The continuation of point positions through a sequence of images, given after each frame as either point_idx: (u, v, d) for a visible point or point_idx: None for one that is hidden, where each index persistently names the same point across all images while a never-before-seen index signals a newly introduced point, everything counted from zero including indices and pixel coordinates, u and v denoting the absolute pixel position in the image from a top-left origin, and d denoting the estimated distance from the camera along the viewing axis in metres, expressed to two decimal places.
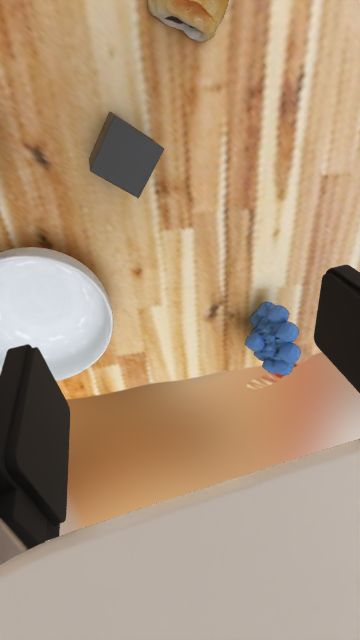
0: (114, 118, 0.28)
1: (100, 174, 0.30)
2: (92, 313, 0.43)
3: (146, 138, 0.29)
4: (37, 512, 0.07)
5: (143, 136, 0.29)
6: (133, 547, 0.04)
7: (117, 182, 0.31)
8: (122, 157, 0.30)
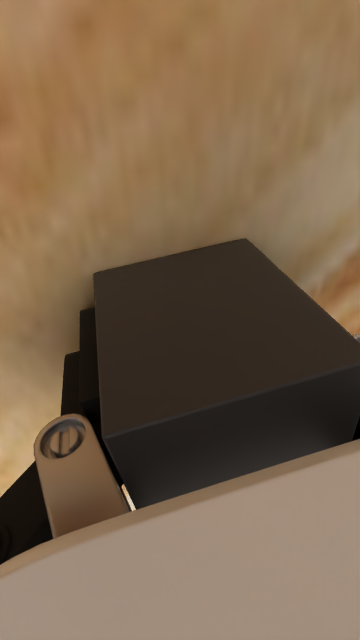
0: None
1: (126, 466, 0.06)
2: None
3: None
4: None
5: None
6: (133, 547, 0.04)
7: None
8: (246, 462, 0.07)
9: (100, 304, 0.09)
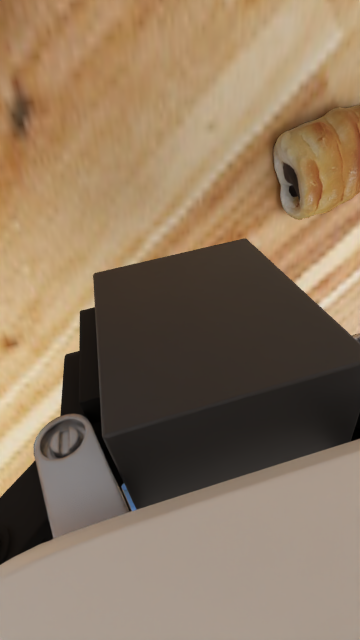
0: None
1: (126, 465, 0.06)
2: None
3: None
4: None
5: None
6: (133, 547, 0.04)
7: (150, 504, 0.07)
8: (245, 462, 0.07)
9: (100, 304, 0.09)
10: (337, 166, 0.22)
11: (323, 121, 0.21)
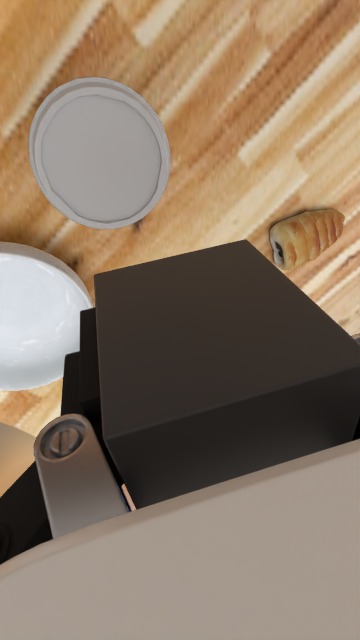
0: None
1: (126, 467, 0.06)
2: (47, 343, 0.40)
3: None
4: None
5: None
6: (133, 547, 0.04)
7: None
8: (246, 462, 0.07)
9: (101, 305, 0.09)
10: (304, 245, 0.39)
11: (297, 221, 0.39)
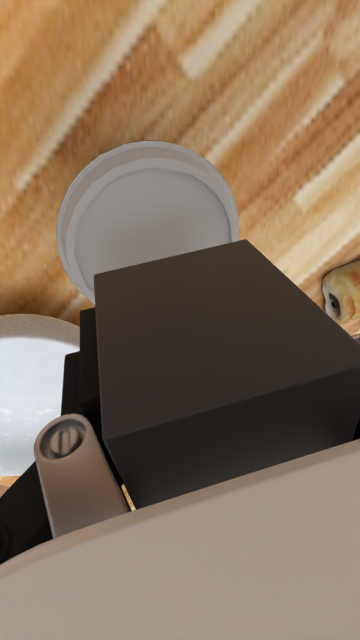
0: None
1: (126, 467, 0.06)
2: None
3: None
4: None
5: None
6: (133, 547, 0.04)
7: None
8: (246, 463, 0.07)
9: (100, 305, 0.09)
10: None
11: (357, 271, 0.33)
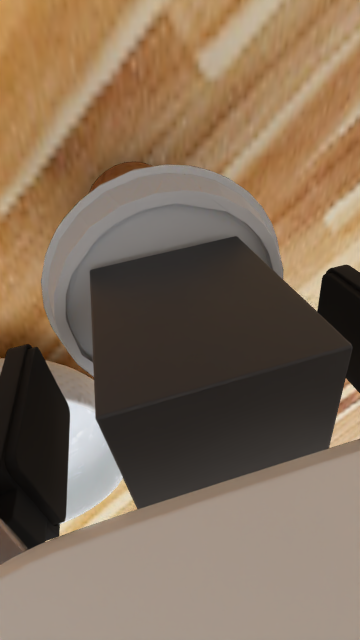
0: (344, 351, 0.06)
1: (118, 447, 0.06)
2: None
3: (327, 441, 0.08)
4: (37, 512, 0.07)
5: (329, 434, 0.08)
6: (133, 547, 0.04)
7: (142, 487, 0.07)
8: (233, 445, 0.07)
9: (96, 298, 0.09)
10: None
11: None
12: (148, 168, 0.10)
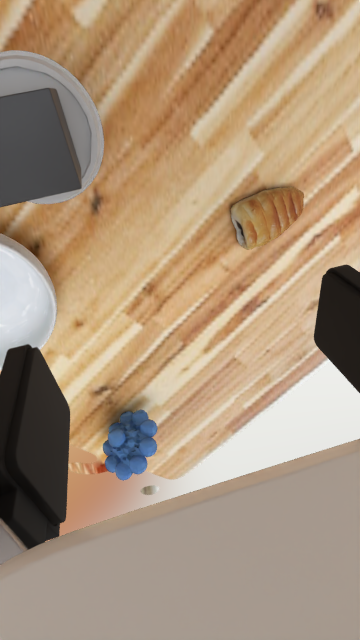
0: (46, 90, 0.17)
1: None
2: (14, 327, 0.41)
3: (69, 156, 0.19)
4: (37, 512, 0.07)
5: (67, 150, 0.18)
6: (133, 547, 0.04)
7: None
8: (16, 143, 0.18)
9: None
10: (263, 223, 0.40)
11: (255, 199, 0.40)
12: None
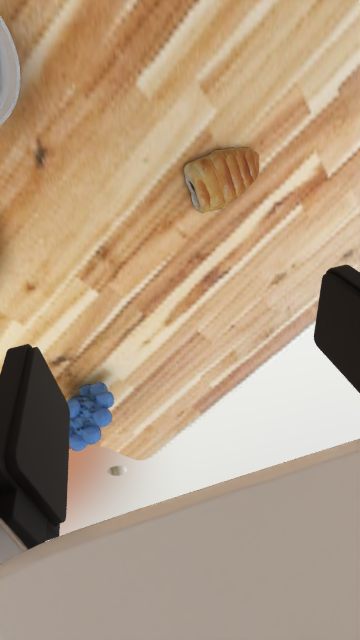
0: None
1: None
2: None
3: None
4: (37, 512, 0.07)
5: None
6: (133, 547, 0.04)
7: None
8: None
9: None
10: (215, 183, 0.39)
11: (207, 158, 0.39)
12: None
